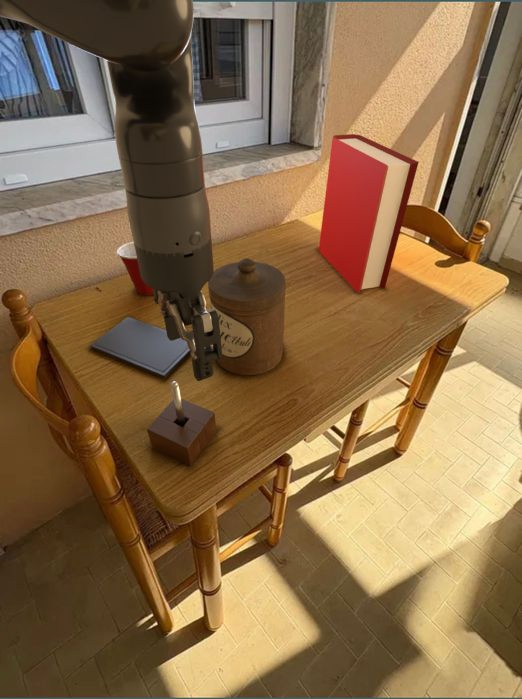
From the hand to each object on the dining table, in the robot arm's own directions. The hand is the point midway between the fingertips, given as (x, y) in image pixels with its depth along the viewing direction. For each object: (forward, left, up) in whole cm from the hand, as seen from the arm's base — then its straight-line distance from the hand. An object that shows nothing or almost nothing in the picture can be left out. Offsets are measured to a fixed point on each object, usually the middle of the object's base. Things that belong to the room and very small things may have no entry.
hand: (189, 356), depth 48 cm
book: (+74, -2, -23) cm, 77 cm away
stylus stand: (+2, +5, -23) cm, 23 cm away
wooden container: (+27, +6, -23) cm, 36 cm away
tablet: (+18, +27, -23) cm, 40 cm away
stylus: (+2, +5, -23) cm, 23 cm away
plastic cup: (+37, +42, -23) cm, 60 cm away
